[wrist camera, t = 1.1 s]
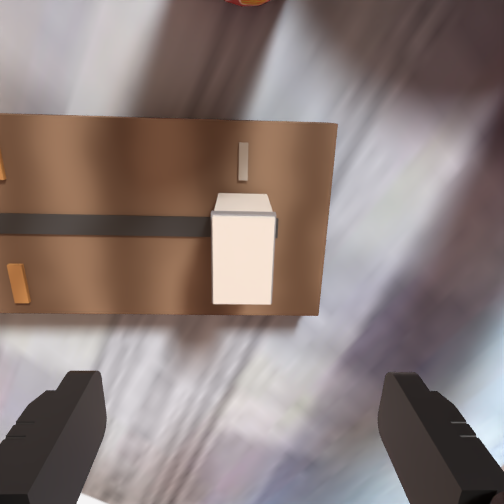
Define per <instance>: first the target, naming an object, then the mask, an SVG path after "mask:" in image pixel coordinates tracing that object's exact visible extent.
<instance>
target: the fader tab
mask: <svg viewBox="0 0 504 504" xmlns="http://www.w3.org/2000/svg"><path fill="white" fill-rule="evenodd" d="M275 233H276V212H273V211H272V208H271V205H270V202H269V199H268V196H267V194H242V193H218V197H217V201H216V205H215V209H214V211H211V275H212V303H213V304H262V305H271V304H272V291H273V271H274V252H275Z"/></svg>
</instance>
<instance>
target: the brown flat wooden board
mask: <svg viewBox="0 0 504 504" xmlns="http://www.w3.org/2000/svg"><path fill="white" fill-rule="evenodd" d="M337 127H338V124H334V123H324V122H289V121H254V120H219V119H184V118H148V117H113V116H78V115H43V114H8V113H0V313H62V314H177V315H293V316H318V314H319V304H320V294H321V284H322V275H323V265H324V255H325V245H326V235H327V225H328V216H329V206H330V196H331V186H332V176H333V166H334V157H335V147H336V137H337ZM218 193H242V194H267V196H268V199H269V202H270V205H271V208H272V211H273V212H276V233H275V252H274V271H273V291H272V304H271V305H262V304H213V303H212V275H211V211H214V209H215V205H216V201H217V197H218Z"/></svg>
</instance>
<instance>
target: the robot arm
mask: <svg viewBox="0 0 504 504" xmlns="http://www.w3.org/2000/svg"><path fill="white" fill-rule="evenodd" d="M106 419H107V416H106V407H105V400H104V392H103V385H102V377H101V374H100V372H99V371H69V372H68V373H67V374H66V376H65V377H64V379H63V380H62V382H61V383H60V385H59V386H58V388H57V389H56V390H46V391H45V392H44V393H43V394H41V395H40V396H39V397H37V398H36V399H35V400H34V401H32V402H31V403H30V404H29V405H28V406H27V407H26V409H25V410H24V411H23V413H22V414H21V416H20V417H19V418H18V420H17V421H16V425H13V427H12V428H11V430H10V431H9V432H8V434H7V435H6V439H5V440H3V441H2V442H1V444H0V504H76V503H77V501H78V498H79V496H80V493H81V491H82V488H83V486H84V484H85V481H86V479H87V476H88V474H89V472H90V469H91V467H92V464H93V462H94V459H95V457H96V455H97V452H98V450H99V447H100V445H101V442H102V440H103V437H104V433H105V429H106ZM378 428H379V433H380V436H381V439H382V441H383V443H384V446H385V448H386V450H387V453H388V455H389V457H390V459H391V462H392V464H393V466H394V468H395V471H396V473H397V475H398V478H399V480H400V482H401V484H402V487H403V489H404V491H405V493H406V496H407V498H408V500H409V503H410V504H504V471H503V470H502V469H501V467H500V466H499V465H498V463H497V462H496V461H495V459H494V458H493V457H492V455H491V454H490V453H489V451H488V450H487V448H486V447H485V446H484V444H483V443H482V442H481V440H480V439H479V438H477V437H476V434H475V432H474V431H473V430H472V428H471V427H470V425H469V424H466V420H465V419H464V417H463V416H462V415H461V413H460V412H459V411H458V409H457V408H456V407H455V405H454V404H453V403H451V402H450V401H449V400H447V399H446V398H445V397H444V396H442V395H441V394H440V393H439V392H437V391H429V389H428V388H427V386H426V385H425V384H424V382H423V381H422V379H421V378H420V376H419V375H418V374H417V373H415V372H388V373H387V374H386V376H385V380H384V385H383V390H382V396H381V401H380V406H379V412H378Z"/></svg>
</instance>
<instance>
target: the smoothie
mask: <svg viewBox="0 0 504 504" xmlns="http://www.w3.org/2000/svg"><path fill="white" fill-rule="evenodd" d="M224 1H226V2H229V3H232V4H235V5H238V6H259V5H262V4H264V3H266V2H268V1H271V0H224Z"/></svg>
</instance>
